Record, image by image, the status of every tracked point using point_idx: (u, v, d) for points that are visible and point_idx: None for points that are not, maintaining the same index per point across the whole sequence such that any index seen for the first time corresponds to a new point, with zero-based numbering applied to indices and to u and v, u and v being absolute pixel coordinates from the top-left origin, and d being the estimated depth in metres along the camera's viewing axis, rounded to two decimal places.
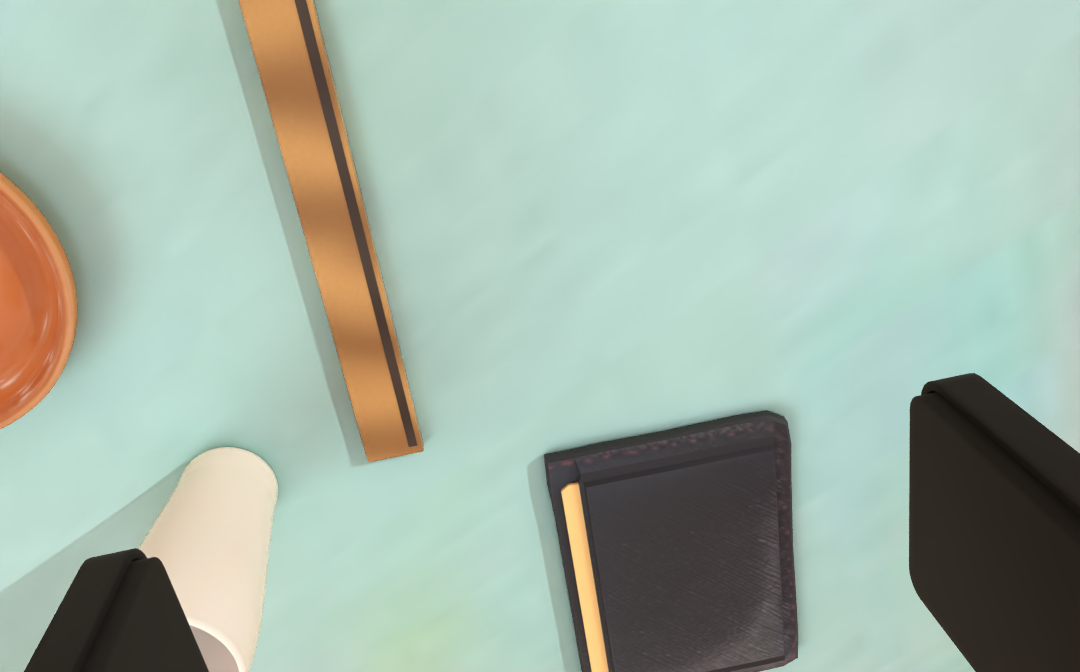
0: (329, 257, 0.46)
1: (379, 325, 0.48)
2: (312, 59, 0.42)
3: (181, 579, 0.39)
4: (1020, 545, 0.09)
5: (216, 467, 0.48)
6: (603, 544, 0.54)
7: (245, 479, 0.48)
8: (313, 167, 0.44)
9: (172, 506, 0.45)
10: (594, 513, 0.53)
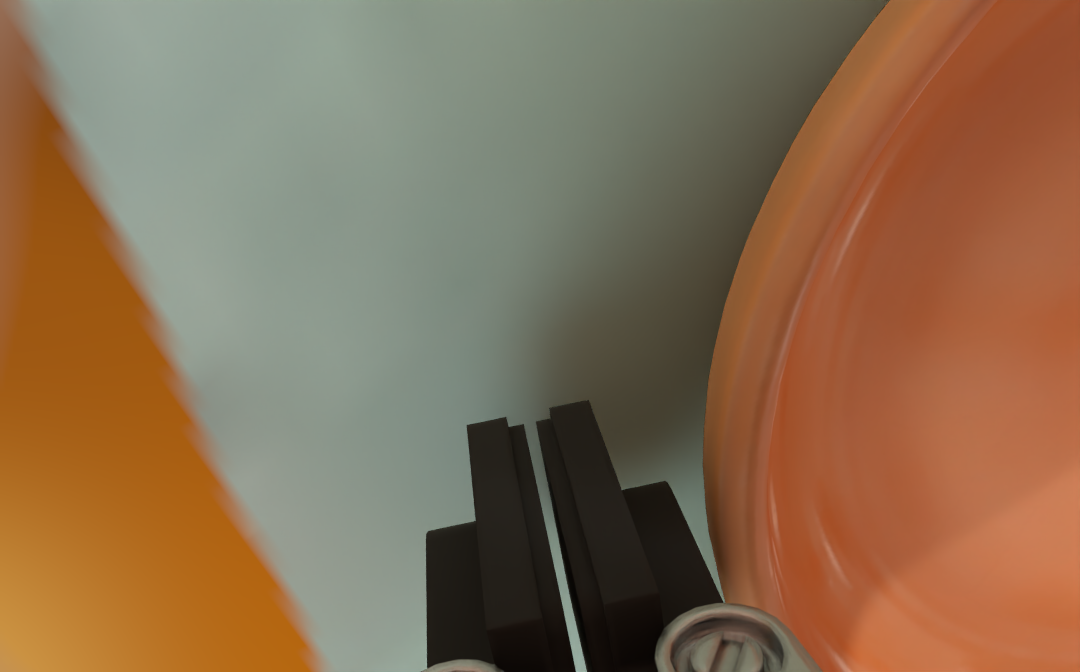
0: None
1: None
2: None
3: None
4: (567, 560, 0.10)
5: None
6: None
7: None
8: None
9: None
10: None
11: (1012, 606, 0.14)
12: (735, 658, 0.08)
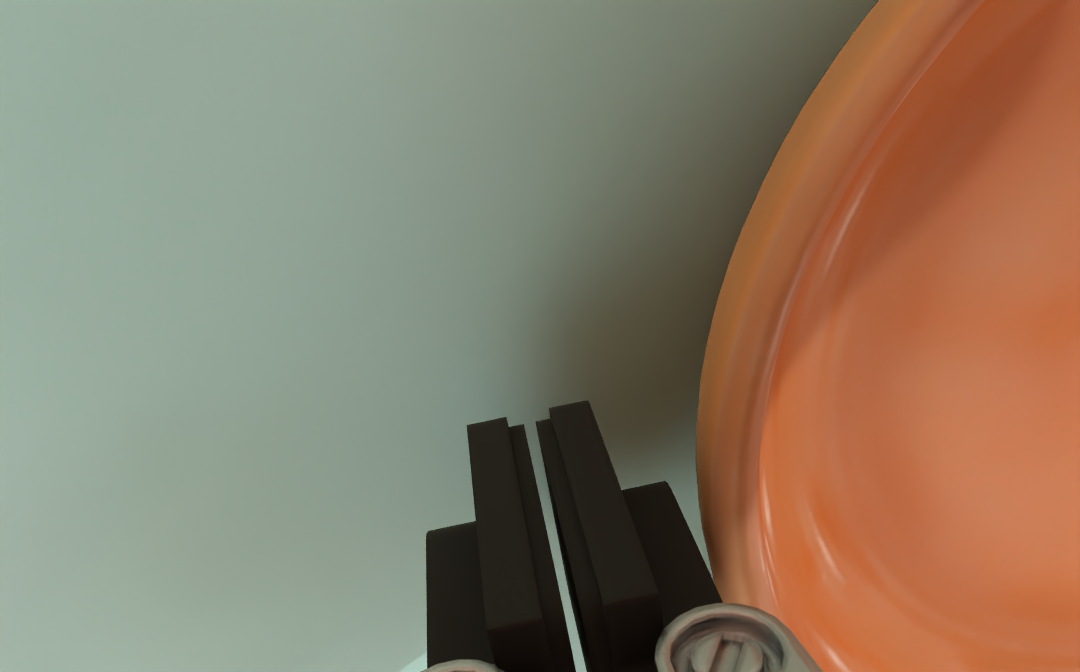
0: None
1: None
2: None
3: None
4: (567, 560, 0.10)
5: None
6: None
7: None
8: None
9: None
10: None
11: (1005, 600, 0.14)
12: (735, 658, 0.08)
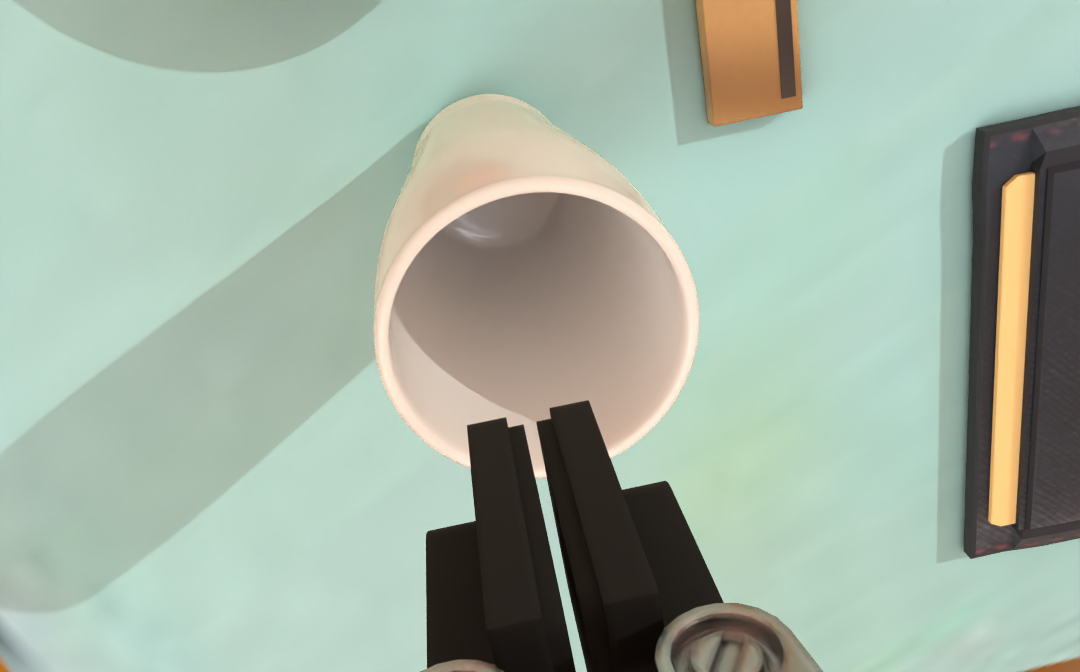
0: None
1: None
2: None
3: (557, 151, 0.19)
4: (567, 560, 0.10)
5: (493, 102, 0.28)
6: (1061, 278, 0.34)
7: (545, 119, 0.28)
8: None
9: (449, 127, 0.25)
10: (1057, 221, 0.33)
11: None
12: (735, 658, 0.08)
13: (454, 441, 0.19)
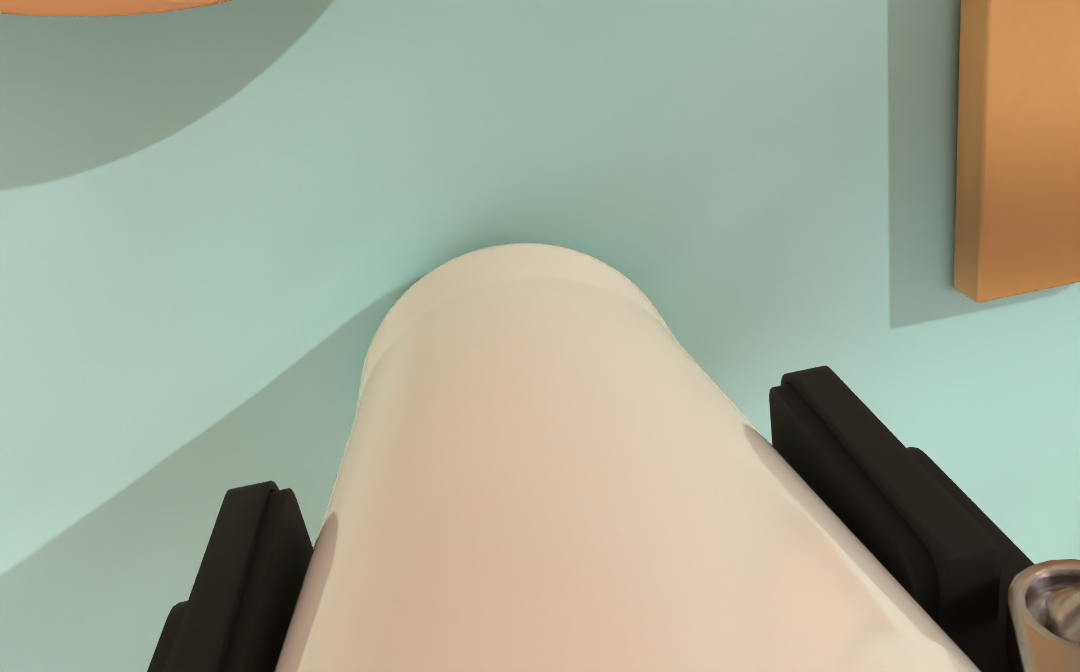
0: None
1: None
2: None
3: None
4: (844, 523, 0.10)
5: (539, 286, 0.12)
6: None
7: (659, 330, 0.12)
8: None
9: (434, 416, 0.09)
10: None
11: None
12: None
13: None
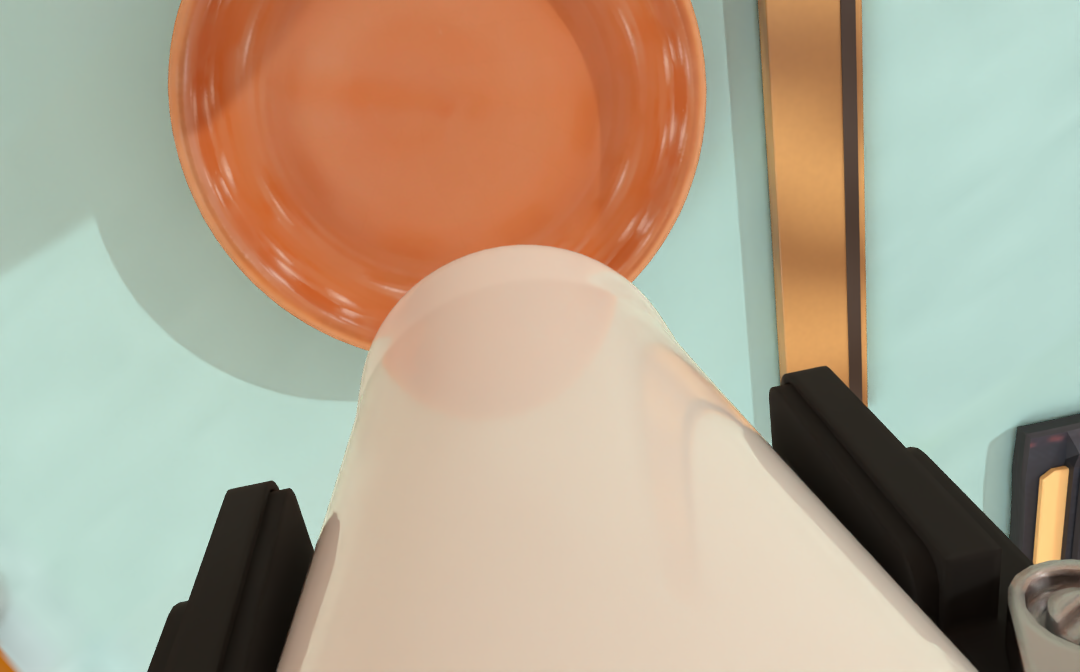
0: (799, 123, 0.31)
1: (848, 230, 0.32)
2: None
3: None
4: (843, 523, 0.10)
5: (539, 288, 0.12)
6: None
7: (659, 332, 0.12)
8: None
9: (434, 418, 0.09)
10: None
11: (383, 243, 0.30)
12: None
13: None
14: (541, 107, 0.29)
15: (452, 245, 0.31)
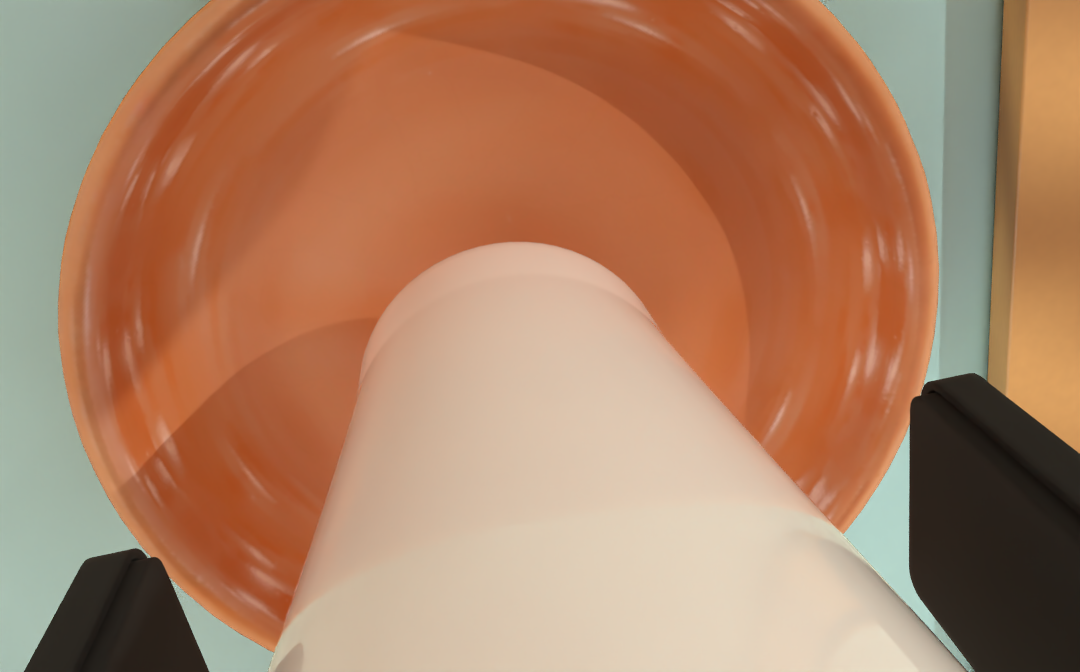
0: (1049, 328, 0.20)
1: None
2: None
3: None
4: (1020, 545, 0.09)
5: (530, 282, 0.13)
6: None
7: (645, 324, 0.13)
8: None
9: (428, 403, 0.10)
10: None
11: None
12: None
13: None
14: (663, 322, 0.19)
15: None
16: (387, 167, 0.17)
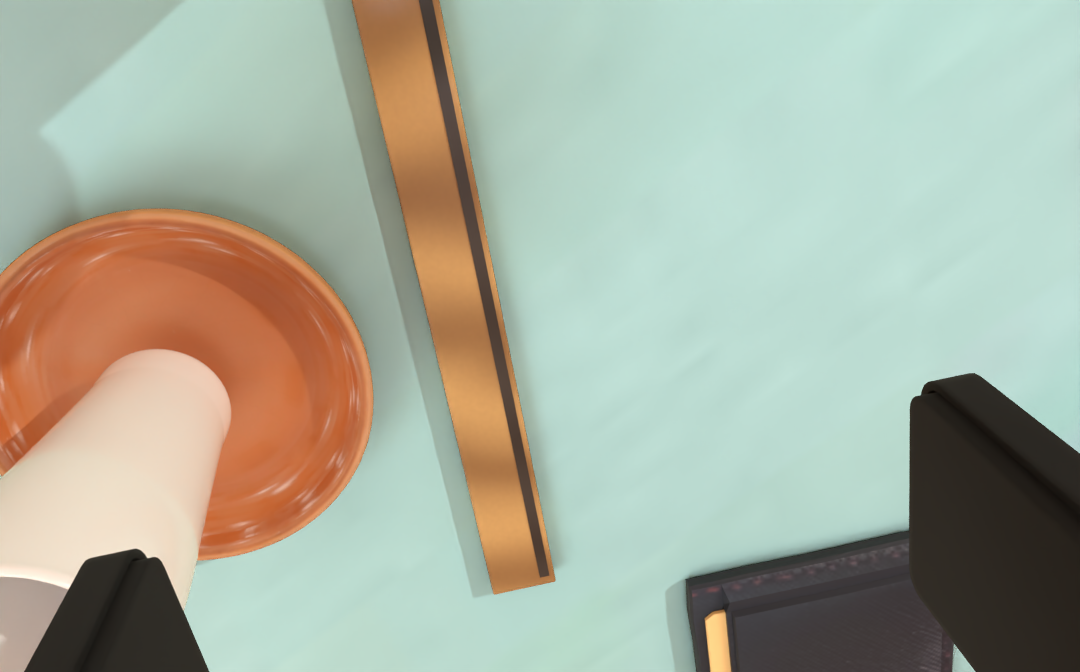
0: (463, 378, 0.41)
1: (515, 449, 0.42)
2: (455, 162, 0.37)
3: (49, 513, 0.24)
4: (1020, 545, 0.09)
5: (137, 371, 0.33)
6: None
7: (178, 388, 0.33)
8: (450, 280, 0.39)
9: (63, 419, 0.30)
10: (742, 644, 0.48)
11: None
12: None
13: None
14: (258, 377, 0.39)
15: None
16: (114, 310, 0.37)
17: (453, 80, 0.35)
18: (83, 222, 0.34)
